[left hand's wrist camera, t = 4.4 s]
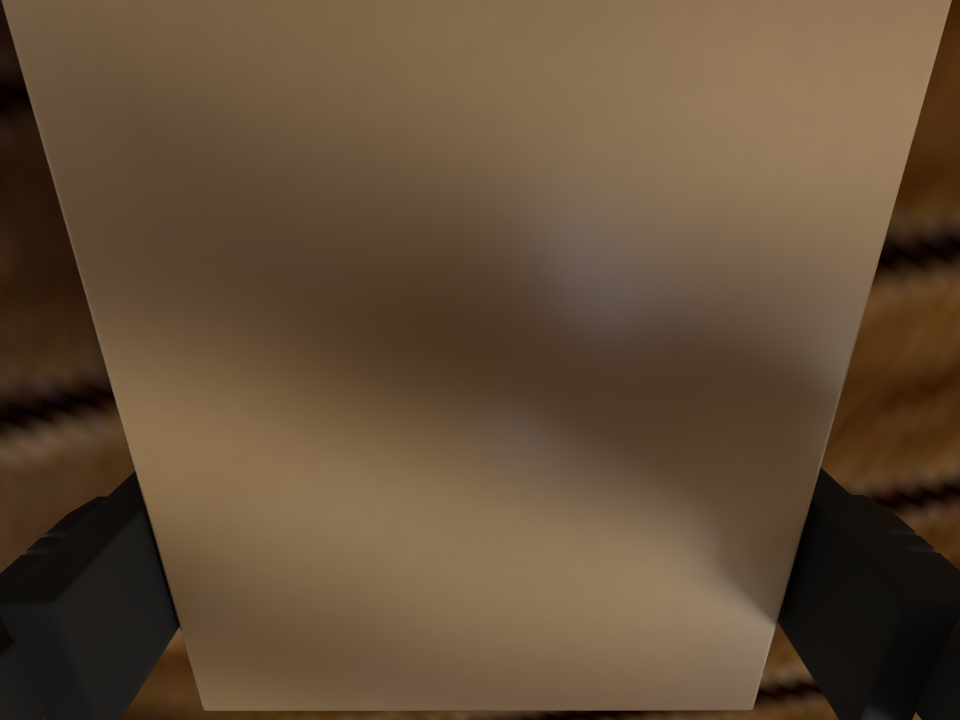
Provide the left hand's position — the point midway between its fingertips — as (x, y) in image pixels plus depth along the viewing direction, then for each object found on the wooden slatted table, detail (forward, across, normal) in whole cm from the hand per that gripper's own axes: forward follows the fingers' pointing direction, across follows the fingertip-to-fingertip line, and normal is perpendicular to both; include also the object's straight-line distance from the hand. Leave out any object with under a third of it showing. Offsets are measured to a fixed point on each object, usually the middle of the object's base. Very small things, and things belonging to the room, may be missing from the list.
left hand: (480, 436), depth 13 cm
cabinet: (+3, 0, -5) cm, 6 cm away
